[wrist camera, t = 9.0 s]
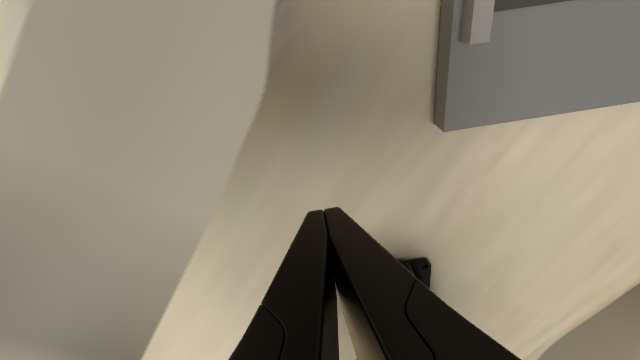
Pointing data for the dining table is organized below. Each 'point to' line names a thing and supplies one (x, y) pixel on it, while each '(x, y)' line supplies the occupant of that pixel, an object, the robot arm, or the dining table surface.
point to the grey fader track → (534, 59)
